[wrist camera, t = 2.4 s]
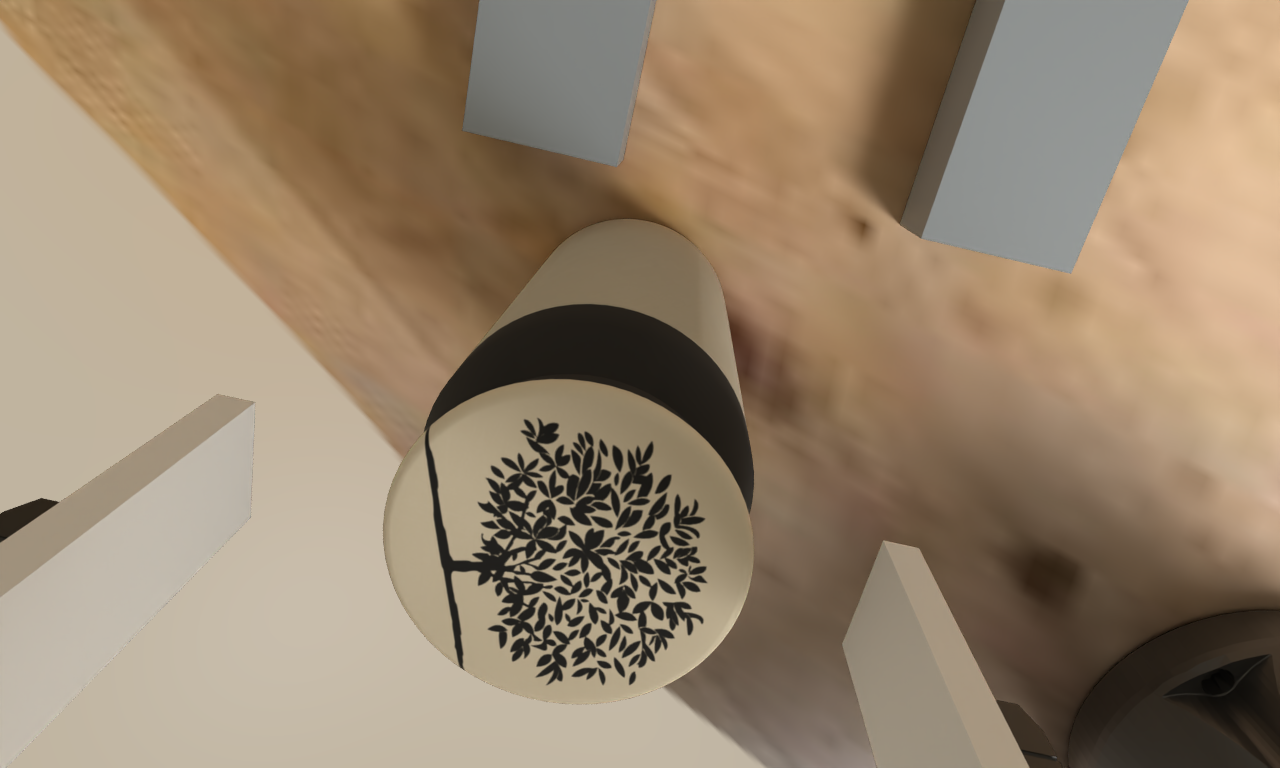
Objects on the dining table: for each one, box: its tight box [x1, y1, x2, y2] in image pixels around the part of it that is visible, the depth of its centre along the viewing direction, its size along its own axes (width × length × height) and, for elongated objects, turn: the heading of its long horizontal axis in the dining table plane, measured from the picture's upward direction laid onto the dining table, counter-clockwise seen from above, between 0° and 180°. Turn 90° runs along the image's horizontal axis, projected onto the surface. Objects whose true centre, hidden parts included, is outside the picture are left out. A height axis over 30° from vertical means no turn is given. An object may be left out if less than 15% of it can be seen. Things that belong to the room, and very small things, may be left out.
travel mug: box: [383, 219, 754, 704], centre depth 24 cm, size 8×8×18 cm
